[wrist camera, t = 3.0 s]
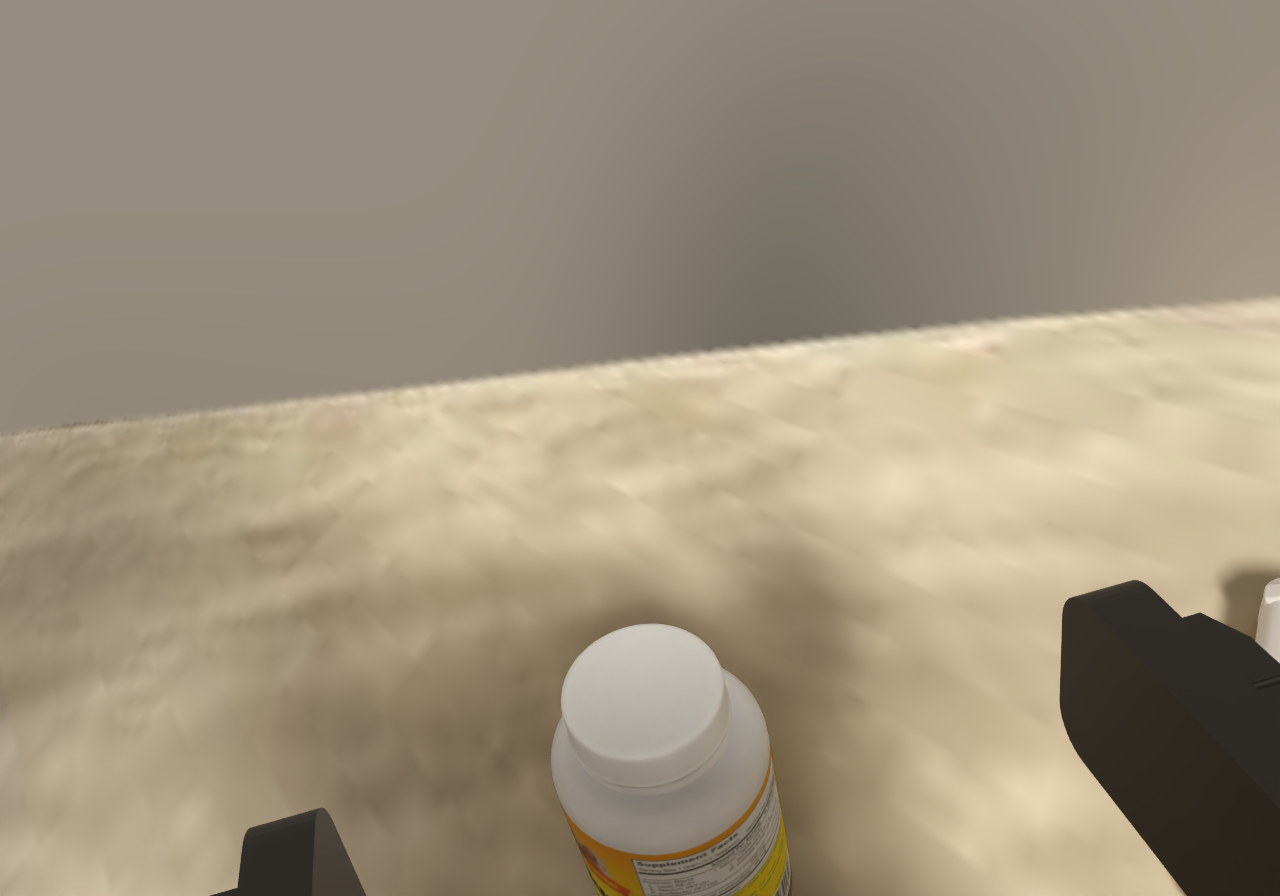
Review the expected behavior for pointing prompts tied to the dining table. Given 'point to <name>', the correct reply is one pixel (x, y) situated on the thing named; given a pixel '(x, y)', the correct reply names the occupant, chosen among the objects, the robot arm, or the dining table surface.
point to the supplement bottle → (668, 771)
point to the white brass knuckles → (1270, 620)
